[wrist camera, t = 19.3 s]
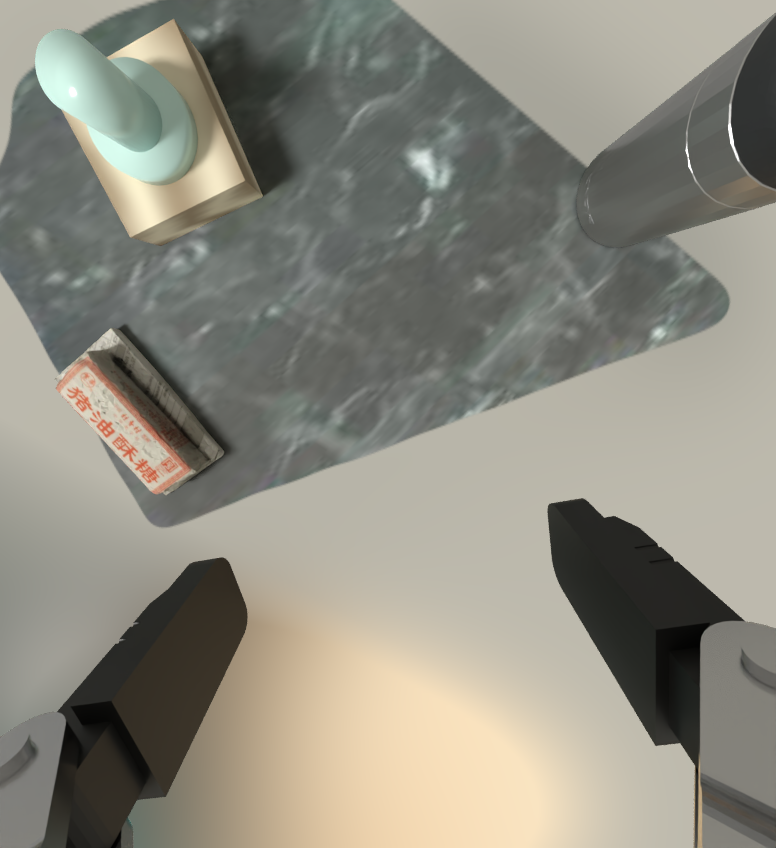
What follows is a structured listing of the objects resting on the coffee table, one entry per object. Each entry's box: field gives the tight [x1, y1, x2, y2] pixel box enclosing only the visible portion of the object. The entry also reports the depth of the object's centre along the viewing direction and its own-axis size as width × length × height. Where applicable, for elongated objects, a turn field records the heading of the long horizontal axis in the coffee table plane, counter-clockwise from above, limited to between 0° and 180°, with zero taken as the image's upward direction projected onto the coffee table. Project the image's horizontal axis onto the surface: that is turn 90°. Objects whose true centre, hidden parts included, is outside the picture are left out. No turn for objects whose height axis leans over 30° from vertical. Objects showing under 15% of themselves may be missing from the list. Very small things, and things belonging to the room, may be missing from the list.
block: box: [62, 19, 263, 246], centre depth 33 cm, size 12×12×5 cm
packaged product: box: [55, 328, 224, 496], centre depth 41 cm, size 18×5×10 cm
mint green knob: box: [35, 29, 198, 186], centre depth 27 cm, size 8×8×8 cm
